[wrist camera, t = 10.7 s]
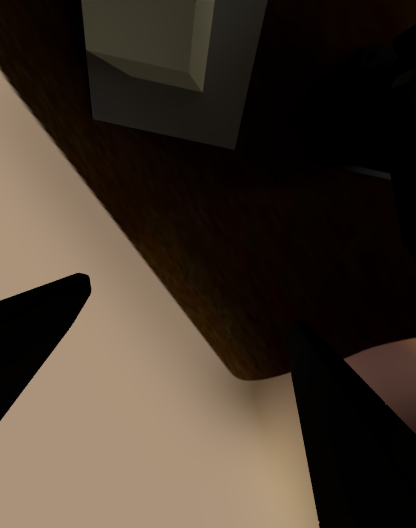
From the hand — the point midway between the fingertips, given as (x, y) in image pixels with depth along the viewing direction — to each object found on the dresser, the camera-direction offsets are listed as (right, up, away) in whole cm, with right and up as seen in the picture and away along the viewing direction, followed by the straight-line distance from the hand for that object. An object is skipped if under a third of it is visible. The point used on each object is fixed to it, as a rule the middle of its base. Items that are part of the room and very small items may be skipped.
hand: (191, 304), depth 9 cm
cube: (-2, +16, +4) cm, 17 cm away
